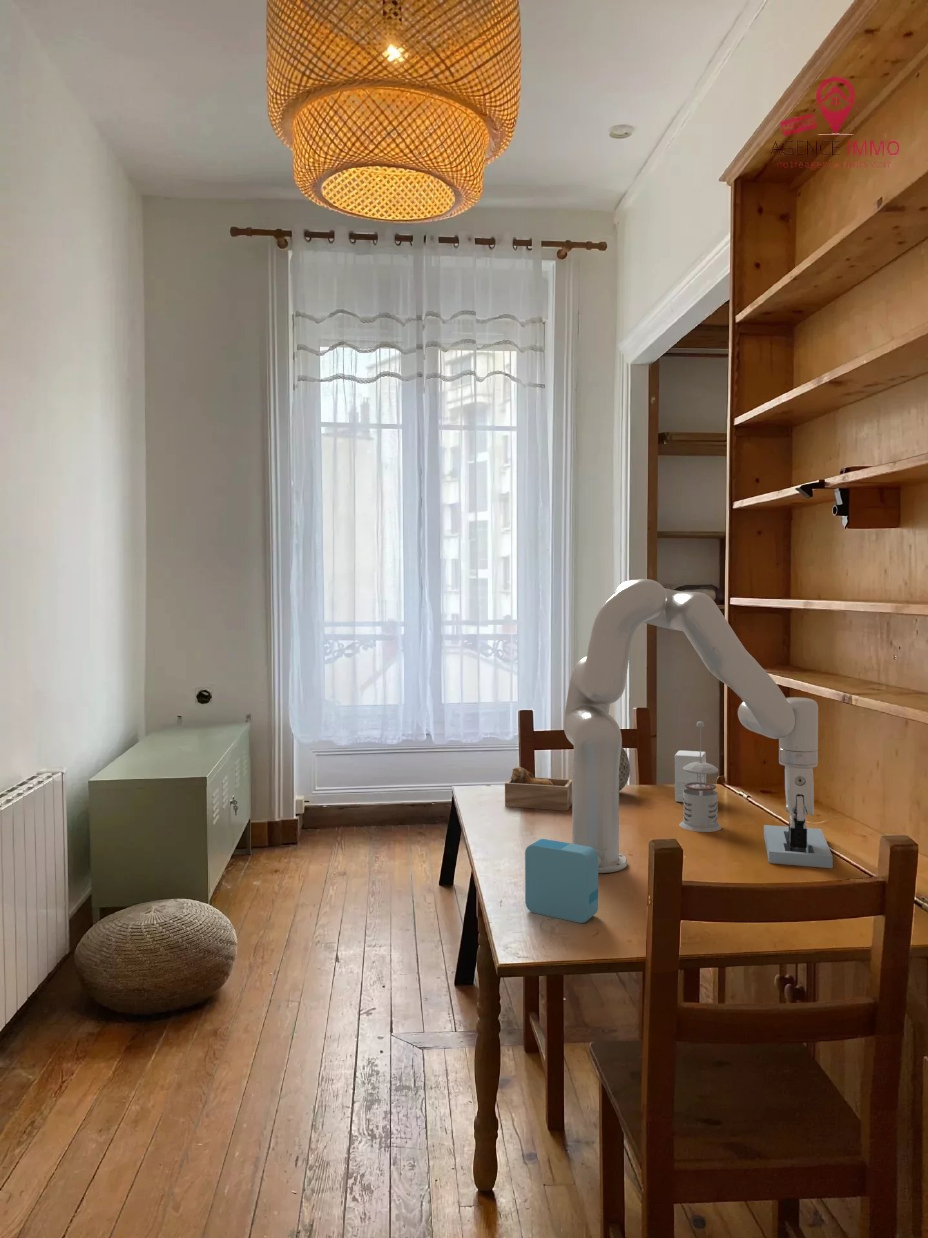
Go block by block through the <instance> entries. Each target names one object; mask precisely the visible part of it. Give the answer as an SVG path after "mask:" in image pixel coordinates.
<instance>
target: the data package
mask: <svg viewBox="0 0 928 1238" xmlns="http://www.w3.org/2000/svg"><path fill="white" fill-rule="evenodd" d="M524 860H525V861H524V870H525V871H524V876H525V877H524V880H525V881H524V882H525V883H524V885H525V888H524V889H525V890H524V891H525V892H524V893H525V897H524V900H525V901H524V902H525V906H526V908H527V910H528V911H529V912H531V913H534V914H537V915H541V916H546V917H550V918H555V919H560V920H564V921H568V922H573V923H578V924H585V923H586V922H588V921H589V920H590V919H591V918H592V917H593V916H595V915H596V913H598V910H599V873H598V854H597V852H596V850H595V849H594V848H592V847H589V846H583V845H577V844H572V843H570V842H564V841H559V840H554V839H553V840H552V839H545V838H541V839H540V838H539V839H538V840H537V841H535V842H533V843H531V844H530V845H527V847H526V848H525V851H524Z"/></svg>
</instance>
